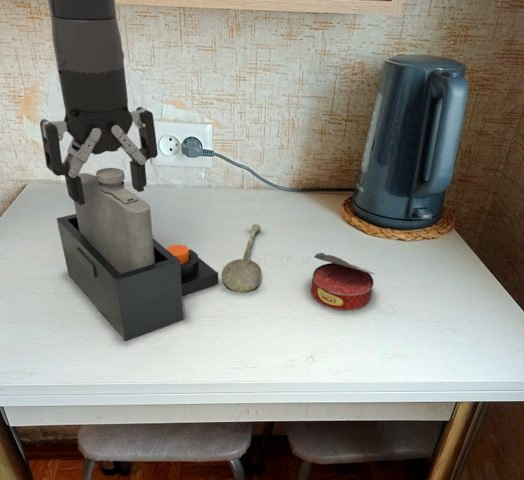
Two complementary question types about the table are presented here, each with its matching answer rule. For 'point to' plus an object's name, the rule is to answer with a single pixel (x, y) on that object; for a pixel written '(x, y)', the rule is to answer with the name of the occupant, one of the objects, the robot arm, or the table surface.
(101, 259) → the black storage bin
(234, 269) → the soupspoon
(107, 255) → the hip flask
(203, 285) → the control panel
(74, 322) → the table surface
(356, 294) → the canned food
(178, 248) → the button
